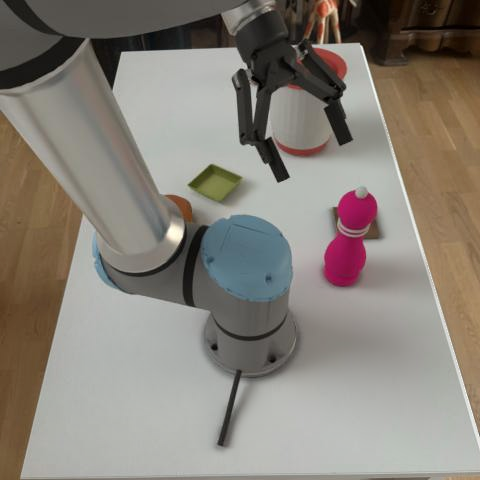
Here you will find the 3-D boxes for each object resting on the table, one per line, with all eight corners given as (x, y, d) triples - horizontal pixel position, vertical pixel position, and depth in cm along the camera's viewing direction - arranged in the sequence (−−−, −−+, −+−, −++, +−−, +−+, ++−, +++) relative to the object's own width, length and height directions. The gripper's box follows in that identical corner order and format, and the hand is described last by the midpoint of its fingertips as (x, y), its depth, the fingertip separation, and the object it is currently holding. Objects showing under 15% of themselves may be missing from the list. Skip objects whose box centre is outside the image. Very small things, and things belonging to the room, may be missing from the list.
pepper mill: (350, 254, 84) (373, 166, 67) (367, 282, 80) (397, 197, 63) (314, 264, 83) (329, 178, 66) (331, 293, 79) (351, 210, 62)
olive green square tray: (212, 170, 98) (211, 162, 96) (244, 184, 95) (243, 177, 93) (187, 193, 94) (186, 185, 93) (220, 208, 92) (219, 201, 90)
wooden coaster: (378, 238, 86) (379, 234, 85) (337, 239, 86) (337, 236, 85) (371, 209, 90) (372, 205, 89) (332, 210, 90) (332, 206, 89)
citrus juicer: (278, 112, 109) (281, 23, 92) (345, 131, 104) (361, 40, 87) (248, 149, 102) (246, 59, 85) (319, 170, 97) (332, 80, 80)
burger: (200, 234, 88) (197, 216, 84) (154, 246, 87) (149, 230, 83) (187, 202, 93) (184, 184, 89) (144, 213, 92) (139, 196, 88)
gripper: (192, 40, 56) (267, 192, 63) (332, -19, 64) (386, 121, 70) (176, 66, 63) (244, 201, 69) (303, 9, 71) (355, 135, 77)
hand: (316, 161), depth 70 cm, fingers open, 13 cm apart
